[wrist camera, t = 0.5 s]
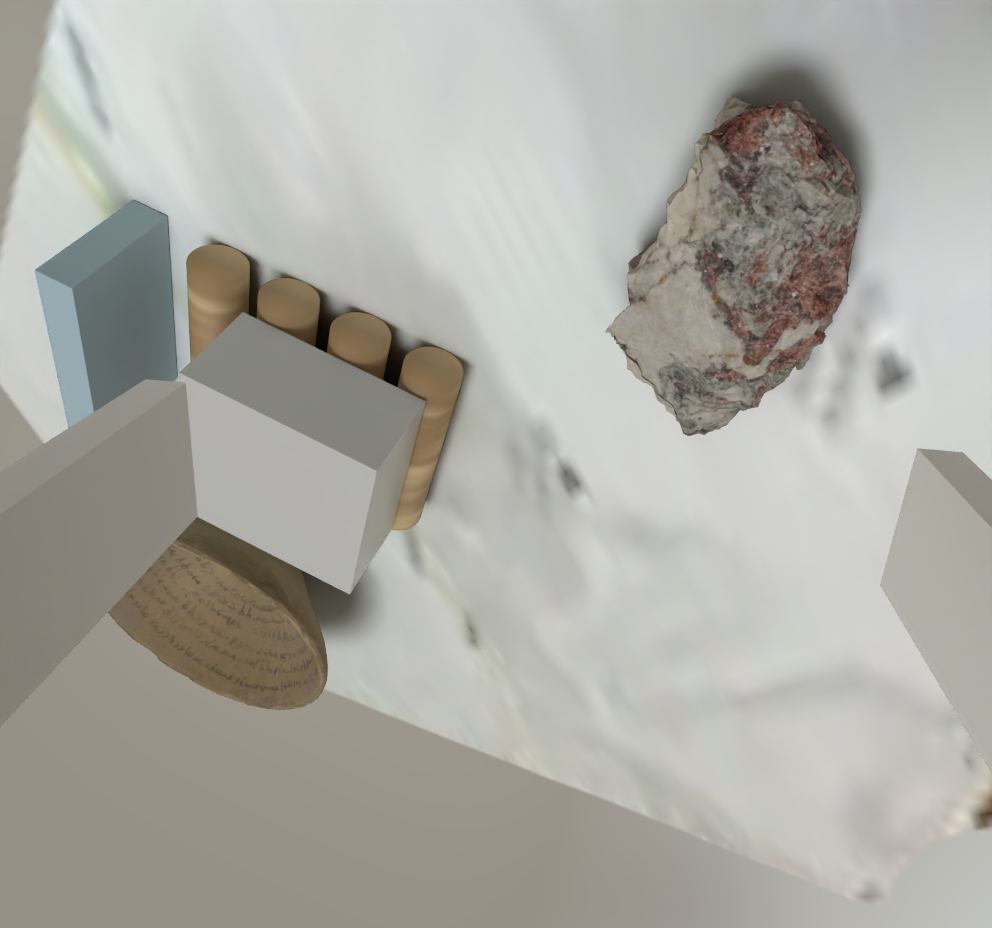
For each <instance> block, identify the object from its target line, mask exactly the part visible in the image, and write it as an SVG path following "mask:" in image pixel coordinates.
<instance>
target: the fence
mask: <svg viewBox="0 0 992 928" xmlns="http://www.w3.org/2000/svg"><path fill="white" fill-rule="evenodd" d="M35 274H36V278H37V283H38V287H39V292H40V297H41V301H42V306H43V311H44V315H45V320H46V325H47V329H48V334H49V339H50V343H51V348H52V353H53V357H54V362H55V367H56V371H57V376H58V381H59V385H60V390H61V395H62V399H63V404H64V409H65V413H66V418H67V423H68V427H69V428H70V427H71V426H73V425H75V424H76V423H78V422H79V421H81V420H82V419H84V418H86V417H87V416H89V415H90V414H92V413H93V412H95V411H97V410H98V409H100V408H101V407H103V406H104V405H106V404H108V403H109V402H111V401H112V400H114V399H115V398H117V397H119V396H120V395H122V394H123V393H125V392H127V391H128V390H130V389H131V388H133V387H134V386H136V385H138V384H139V383H141V382H142V381H144V380H145V379H148V380H160V381H171V382H173V381H174V380H175V379H176V378H177V363H176V347H175V330H174V314H173V298H172V281H171V265H170V249H169V233H168V216H166V215H164V214H162V213H160V212H158V211H156V210H153V209H151V208H149V207H147V206H145V205H143V204H141V203H139V202H137V201H135V200H133V201H131V202H130V203H129V204H127V205H126V206H124V207H123V208H122V209H120V210H119V211H117V212H116V213H115V214H113V215H112V216H110V217H109V218H107V219H106V220H105V221H103V222H102V223H100V224H99V225H98V226H96V227H95V228H93V229H92V230H91V231H89V232H88V233H86V234H85V235H84V236H82V237H81V238H79V239H78V240H76V241H75V242H74V243H72V244H71V245H69V246H68V247H67V248H65V249H64V250H62V251H61V252H60V253H58V254H57V255H55V256H54V257H53V258H51V259H50V260H48V261H47V262H45V263H44V264H43V265H41V266H40V267H38V268H37V269H36V270H35Z"/></svg>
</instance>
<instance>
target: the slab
mask: <svg viewBox="0 0 992 928" xmlns="http://www.w3.org/2000/svg"><path fill="white" fill-rule="evenodd" d="M180 382H182V383H186V390H187V401H188V412H189V424H190V435H191V446H192V458H193V469H194V480H195V491H196V503H197V514H198V517H199V518H201V519H203V520H205V521H207V522H208V523H210V524H212V525H214V526H216V527H218V528H220V529H222V530H224V531H226V532H228V533H230V534H232V535H234V536H236V537H238V538H240V539H242V540H244V541H246V542H248V543H250V544H252V545H253V546H255V547H257V548H259V549H261V550H263V551H265V552H267V553H269V554H271V555H273V556H275V557H277V558H279V559H281V560H283V561H285V562H287V563H289V564H291V565H293V566H295V567H297V568H299V569H300V570H302V571H304V572H306V573H308V574H310V575H312V576H314V577H316V578H318V579H320V580H322V581H324V582H326V583H328V584H330V585H332V586H334V587H336V588H338V589H340V590H342V591H344V592H345V593H347V594H349V595H350V593H351V592H352V590H353V589H354V587H355V586H356V584H357V582H358V581H359V579H360V578H361V576H362V575H363V573H364V572H365V570H366V568H367V567H368V565H369V564H370V562H371V561H372V559H373V558H374V556H375V554H376V553H377V551H378V550H379V548H380V547H381V545H382V544H383V542H384V540H385V539H386V537H387V536H388V534H389V533H390V531H391V529H392V527H393V523H394V520H395V516H396V512H397V508H398V504H399V501H400V497H401V493H402V489H403V486H404V482H405V478H406V474H407V471H408V467H409V463H410V459H411V455H412V452H413V448H414V444H415V440H416V437H417V433H418V429H419V425H420V422H421V418H422V414H423V410H424V406H425V403H426V401H424V400H422V399H420V398H418V397H416V396H414V395H412V394H410V393H408V392H406V391H404V390H401V389H399V388H397V387H395V386H393V385H391V384H389V383H387V382H385V381H383V380H381V379H379V378H377V377H375V376H373V375H371V374H369V373H367V372H365V371H363V370H361V369H359V368H356V367H354V366H352V365H350V364H348V363H346V362H344V361H342V360H340V359H338V358H336V357H334V356H332V355H330V354H328V353H326V352H324V351H322V350H320V349H318V348H316V347H314V346H311V345H309V344H307V343H305V342H303V341H301V340H299V339H297V338H295V337H293V336H291V335H289V334H287V333H285V332H283V331H281V330H279V329H277V328H275V327H273V326H271V325H268V324H266V323H264V322H262V321H260V320H258V319H256V318H254V317H252V316H250V315H248V314H246V313H244V312H242V313H241V314H240V315H239V316H238V317H237V318H236V319H235V320H234V321H233V322H232V323H231V324H230V325H229V326H228V327H227V328H226V329H225V330H224V331H223V332H222V333H220V334H219V335H218V336H217V337H216V338H215V339H214V340H213V341H212V342H211V343H210V344H209V345H208V346H207V347H206V348H205V349H204V350H203V351H202V352H201V353H200V354H199V355H198V356H197V357H196V358H194V359H193V360H192V361H191V362H190V363H189V364H188V365H187V366H186V367H185V368H184V369H183V370H182V371H181V372H180Z"/></svg>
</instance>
